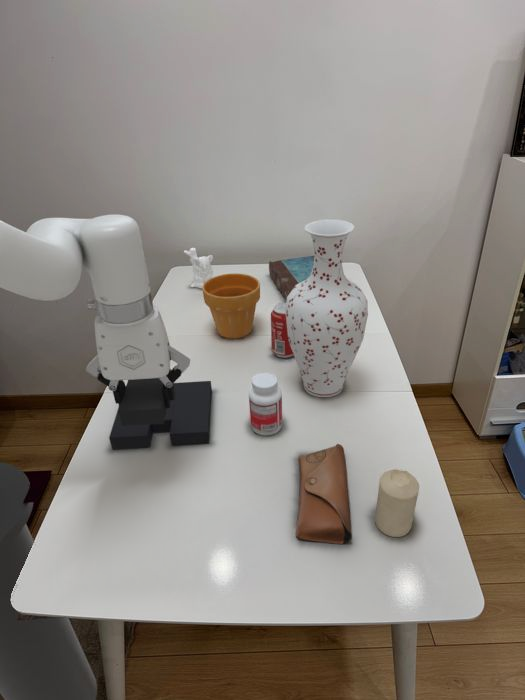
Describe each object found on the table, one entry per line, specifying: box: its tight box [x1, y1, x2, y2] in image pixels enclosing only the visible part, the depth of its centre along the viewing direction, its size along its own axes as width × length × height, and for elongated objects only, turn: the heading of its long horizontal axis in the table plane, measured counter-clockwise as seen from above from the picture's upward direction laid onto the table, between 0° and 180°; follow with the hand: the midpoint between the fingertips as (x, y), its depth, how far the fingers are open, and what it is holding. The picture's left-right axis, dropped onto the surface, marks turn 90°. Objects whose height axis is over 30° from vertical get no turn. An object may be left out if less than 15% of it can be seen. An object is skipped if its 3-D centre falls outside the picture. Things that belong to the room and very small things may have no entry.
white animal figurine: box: [183, 247, 214, 290], centre depth 147 cm, size 8×7×12 cm
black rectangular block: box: [117, 378, 167, 426], centre depth 80 cm, size 6×12×3 cm, turn 3°
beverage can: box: [270, 302, 294, 359], centre depth 113 cm, size 6×6×12 cm
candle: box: [374, 468, 420, 538], centre depth 72 cm, size 6×6×10 cm
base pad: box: [108, 380, 213, 451], centre depth 97 cm, size 18×16×3 cm
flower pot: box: [201, 272, 261, 339], centre depth 123 cm, size 14×14×13 cm
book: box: [268, 255, 315, 301], centre depth 146 cm, size 23×18×5 cm
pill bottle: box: [248, 372, 283, 436], centre depth 92 cm, size 6×6×11 cm
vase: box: [285, 218, 369, 398], centre depth 96 cm, size 16×16×35 cm
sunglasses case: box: [295, 443, 353, 545], centre depth 79 cm, size 18×7×7 cm
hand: (146, 403), depth 78 cm, fingers closed on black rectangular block, 6 cm apart
